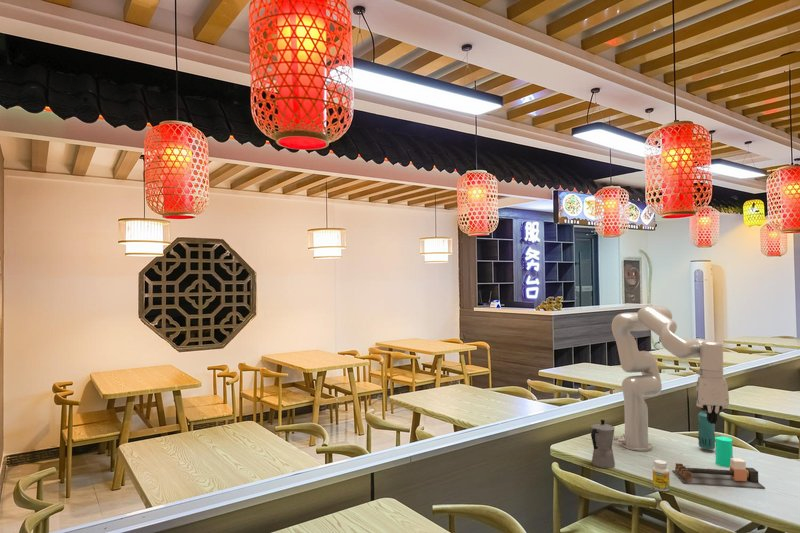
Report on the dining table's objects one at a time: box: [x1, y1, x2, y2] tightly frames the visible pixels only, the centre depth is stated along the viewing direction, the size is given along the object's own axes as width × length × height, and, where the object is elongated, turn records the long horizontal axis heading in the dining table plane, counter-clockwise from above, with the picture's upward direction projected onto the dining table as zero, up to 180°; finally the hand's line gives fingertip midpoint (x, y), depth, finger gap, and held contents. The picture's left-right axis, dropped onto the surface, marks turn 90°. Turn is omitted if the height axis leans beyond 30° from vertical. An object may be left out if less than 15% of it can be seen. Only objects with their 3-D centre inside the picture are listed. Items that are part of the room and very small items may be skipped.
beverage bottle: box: [697, 407, 716, 450], centre depth 224 cm, size 6×7×20 cm
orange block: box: [729, 457, 747, 481], centre depth 190 cm, size 4×4×7 cm
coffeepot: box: [590, 419, 616, 469], centre depth 207 cm, size 15×9×18 cm, turn 131°
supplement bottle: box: [652, 459, 671, 492], centre depth 184 cm, size 5×5×10 cm
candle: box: [715, 436, 734, 468], centre depth 208 cm, size 6×6×12 cm
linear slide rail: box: [672, 462, 766, 490], centre depth 192 cm, size 27×12×5 cm, turn 80°
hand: (712, 422), depth 193 cm, fingers closed
